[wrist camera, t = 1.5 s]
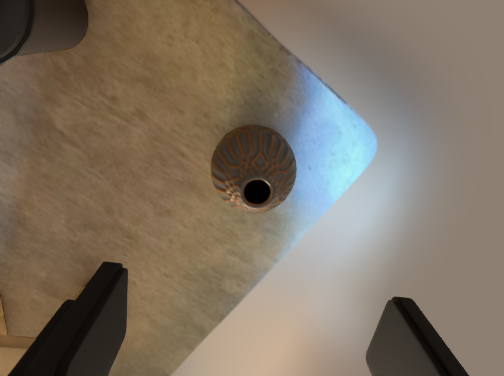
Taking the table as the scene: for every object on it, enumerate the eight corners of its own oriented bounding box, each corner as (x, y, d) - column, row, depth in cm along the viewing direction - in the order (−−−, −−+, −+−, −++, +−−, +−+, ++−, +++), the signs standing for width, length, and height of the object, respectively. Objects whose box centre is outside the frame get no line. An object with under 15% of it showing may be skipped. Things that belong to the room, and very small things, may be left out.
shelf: (-15, 276, 32) (-119, 362, 22) (94, 286, 33) (38, 373, 24) (1, 358, 36) (-81, 458, 27) (97, 365, 37) (50, 464, 28)
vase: (298, 175, 29) (321, 217, 21) (231, 200, 30) (229, 251, 22) (273, 106, 27) (289, 124, 18) (201, 135, 27) (186, 165, 19)
